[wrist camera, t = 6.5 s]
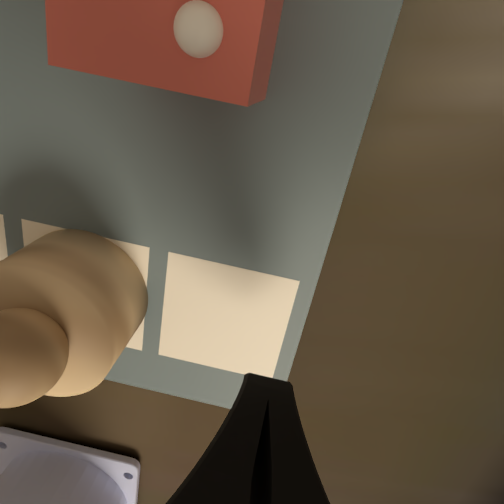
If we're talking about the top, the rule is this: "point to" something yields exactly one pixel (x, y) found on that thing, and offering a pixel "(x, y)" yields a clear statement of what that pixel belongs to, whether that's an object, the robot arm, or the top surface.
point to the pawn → (65, 314)
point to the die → (169, 43)
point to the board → (196, 186)
